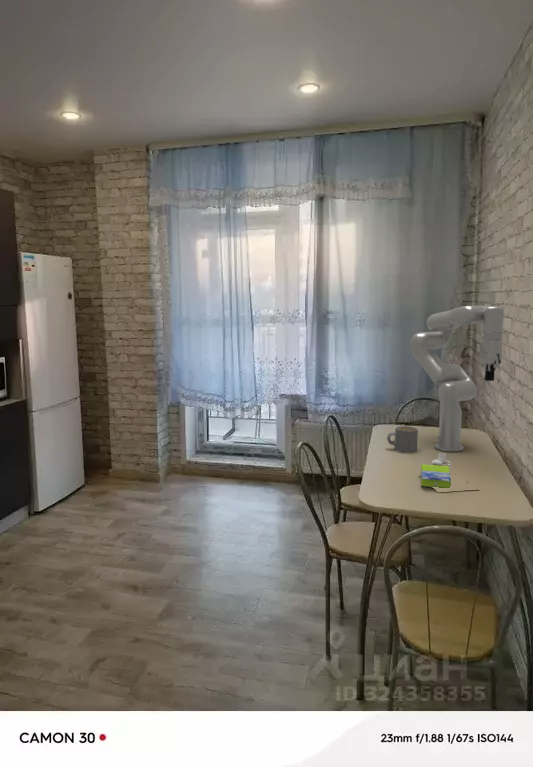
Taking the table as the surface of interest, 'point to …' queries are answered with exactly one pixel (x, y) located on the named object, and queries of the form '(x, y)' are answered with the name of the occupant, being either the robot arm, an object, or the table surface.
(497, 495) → the table surface
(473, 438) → the table surface
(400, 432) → the coffee mug
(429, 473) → the box
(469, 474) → the table surface
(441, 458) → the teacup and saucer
